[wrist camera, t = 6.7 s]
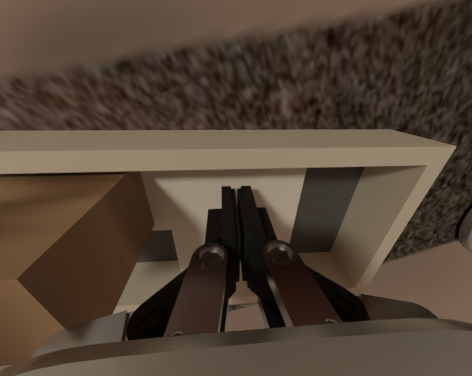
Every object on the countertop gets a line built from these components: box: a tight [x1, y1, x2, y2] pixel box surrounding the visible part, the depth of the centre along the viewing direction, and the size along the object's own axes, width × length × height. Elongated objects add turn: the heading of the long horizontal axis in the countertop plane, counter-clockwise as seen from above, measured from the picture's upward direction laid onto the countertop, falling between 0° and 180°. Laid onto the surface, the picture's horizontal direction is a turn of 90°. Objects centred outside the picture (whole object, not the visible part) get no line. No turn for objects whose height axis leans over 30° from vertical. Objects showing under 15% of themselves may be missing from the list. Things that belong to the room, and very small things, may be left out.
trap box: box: [0, 129, 457, 314], centre depth 13 cm, size 26×13×4 cm, turn 89°
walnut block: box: [0, 171, 154, 366], centre depth 8 cm, size 6×4×7 cm
